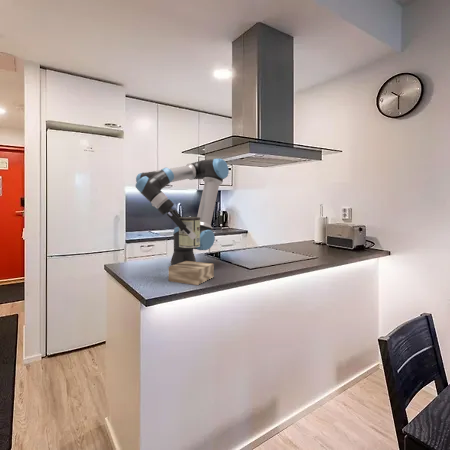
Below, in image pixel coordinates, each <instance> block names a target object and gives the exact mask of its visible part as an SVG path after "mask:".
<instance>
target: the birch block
mask: <svg viewBox="0 0 450 450" xmlns="http://www.w3.org/2000/svg"><path fill="white" fill-rule="evenodd" d="M214 269H215V264H214V263H210V262H202V261H196V262H192V261H184V262H181V263H178V264H175V265H169V266H168V282H173V283H179V284H187V285H193V286H199V284H200V285H201V283H202V284H203V282H204V283H206V282H207V280H208V281H209V279H210V280H211V278H212V279H213V277H215V276H214V275H215V274H214V272H215V271H214ZM205 281H206V282H205Z"/></svg>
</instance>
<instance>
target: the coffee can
mask: <svg viewBox="0 0 450 450" xmlns="http://www.w3.org/2000/svg"><path fill="white" fill-rule="evenodd" d="M179 218H180V219H181V221H182V222H183V223H184V224H185V225H186V227H188V228H189V229H190V230H191V231H192V232H193V233H194V234H195V235H196V236H197V237H196V238H195V239H194V240H192V239H191V238H190V237H189V236H188V235H187V234H186V233H185V232H184V231H183V230H182V231H181V229H180V228H179V247H182V248H196V247H200V217H197V216H182V217H179Z"/></svg>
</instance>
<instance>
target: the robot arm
mask: <svg viewBox="0 0 450 450" xmlns="http://www.w3.org/2000/svg"><path fill="white" fill-rule="evenodd" d="M229 170H230V169H229V165H228V163H227V162H226V161H225V160H224V159H223V158H211V159H202V160H198V161H195V162H192V163H187V164H186V165H183V166H178V167H173V168H172V167H171V168H168V167H164V168H162V169H159V170H153V171H148V172H147V171H146V172H141V173H138V174H137V175H136V177H135V181H136V182H135V188H136V190H137V191H138V192H139V194H141V195H142V196H143V197H144V198H145V199H146V200H147V201H149V203H151V206H152V207H154V208H156V209H157V210H158V212H159V213H160V214H161V215H162V216H163V215H165V214H166V215H167V216H168V217H169V218H170V219H171V221H173V223H174V224H175V225H176V227H174V228H173V252H172V255H171V260H170V266H172V265H175V264H178V263H181V262H184V261H192V262H197V260H196V256H195V253H194V250H198V251H208V250H209V249H211V248H212V246H213V245H215V244H214V243H215V240H216V236H215V232H213V229H214V228H213V227H212V220H213V216H214V210H215V207H216V202H217V201H216V200H217V196H218V191H219V188H220V186H221V185H222V184H223V181H224V180H225V179H226V178H227V177H229V173H230V172H229ZM184 180H189V181H193V180H202V181H203V182H204V184H203V189H202V193H201V197H200V202H199V207H198V212H197V216H196V217H200V247H196V248H182V247H179V228H180V229H181V231H182V230H183V231H184V232H185V233H186V234H187V235H188V236H189V237H190V238H191V239H192V240H194V239H195V238H196V237H197V236H196V235H195V234H194V233H193V232H192V231H191V230H190V229H189V228H188V227H186V225H185V224H184V223H183V222H182V221H181V219H180V218H179V217H183V216H182V215H181V214H180V213H179V212H178V211H177V210H176V209H174V208H173V207H174V206H175V204H174V202H173V201H172V200H171V199H170V198H169V197H168V196H167V195H166V193H164V191H162V189H164V188H166V186H168V185H169V184H171V183H175V182H179V181H184Z"/></svg>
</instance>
